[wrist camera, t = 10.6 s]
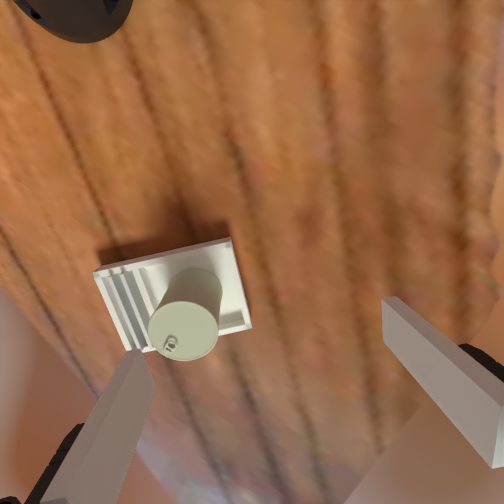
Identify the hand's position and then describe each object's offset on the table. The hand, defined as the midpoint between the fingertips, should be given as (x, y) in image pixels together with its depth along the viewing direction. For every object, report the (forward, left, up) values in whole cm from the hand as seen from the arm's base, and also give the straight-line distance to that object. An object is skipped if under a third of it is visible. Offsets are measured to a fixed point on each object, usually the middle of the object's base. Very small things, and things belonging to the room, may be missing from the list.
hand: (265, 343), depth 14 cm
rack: (+9, -14, -31) cm, 35 cm away
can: (+9, -11, -30) cm, 33 cm away
